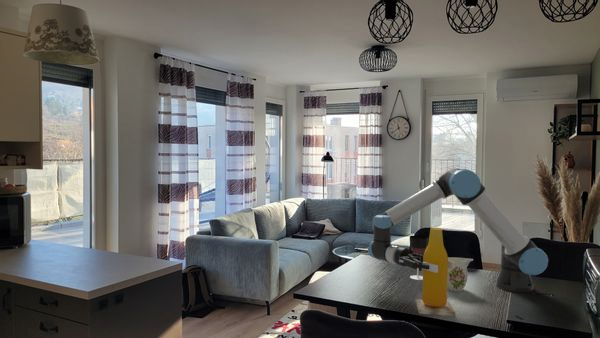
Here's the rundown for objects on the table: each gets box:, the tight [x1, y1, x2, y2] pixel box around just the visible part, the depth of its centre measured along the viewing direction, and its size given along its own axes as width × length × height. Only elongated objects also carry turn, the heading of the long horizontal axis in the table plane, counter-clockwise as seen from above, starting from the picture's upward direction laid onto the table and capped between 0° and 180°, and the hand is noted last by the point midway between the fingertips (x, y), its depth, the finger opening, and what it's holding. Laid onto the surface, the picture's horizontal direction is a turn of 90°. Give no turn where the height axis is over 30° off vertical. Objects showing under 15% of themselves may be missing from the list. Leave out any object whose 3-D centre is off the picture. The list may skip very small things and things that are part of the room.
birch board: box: [415, 298, 456, 317], centre depth 167 cm, size 13×12×2 cm
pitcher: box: [447, 256, 474, 292], centre depth 193 cm, size 11×18×14 cm, turn 86°
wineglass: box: [409, 235, 429, 281], centre depth 211 cm, size 8×9×20 cm
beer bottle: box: [421, 227, 449, 307], centre depth 167 cm, size 9×9×29 cm
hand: (445, 267), depth 163 cm, fingers closed on beer bottle, 9 cm apart
